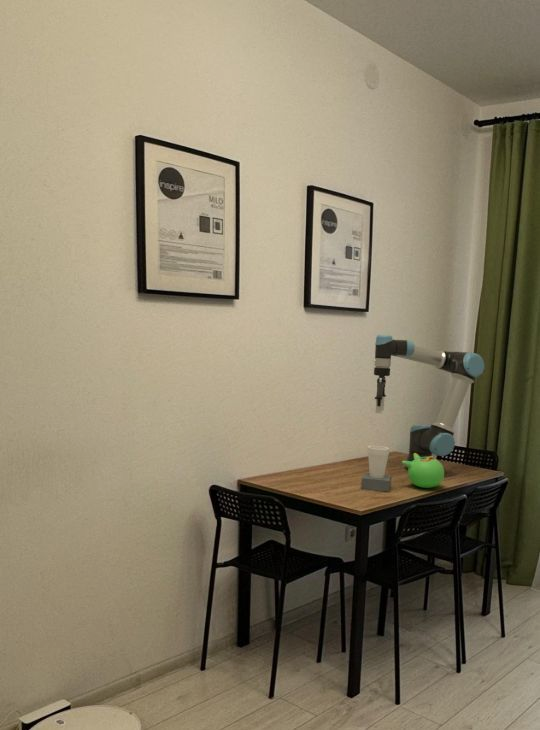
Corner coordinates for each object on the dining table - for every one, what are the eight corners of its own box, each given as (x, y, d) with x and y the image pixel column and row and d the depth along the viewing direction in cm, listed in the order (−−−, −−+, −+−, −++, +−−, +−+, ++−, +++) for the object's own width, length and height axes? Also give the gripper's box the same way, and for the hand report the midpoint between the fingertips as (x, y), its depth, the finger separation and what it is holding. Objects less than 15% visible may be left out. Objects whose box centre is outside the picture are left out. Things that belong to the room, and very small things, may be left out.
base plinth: (364, 483, 286) (364, 472, 286) (390, 486, 283) (391, 475, 283) (361, 489, 275) (361, 477, 274) (388, 492, 272) (389, 480, 271)
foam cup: (383, 474, 284) (385, 446, 283) (390, 479, 275) (392, 449, 274) (363, 474, 283) (365, 445, 282) (369, 478, 273) (371, 449, 273)
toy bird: (436, 494, 273) (438, 460, 272) (399, 487, 281) (401, 455, 281) (447, 486, 288) (449, 455, 287) (412, 480, 297) (414, 450, 296)
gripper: (376, 365, 310) (373, 408, 311) (371, 367, 286) (369, 413, 287) (391, 366, 308) (389, 409, 309) (388, 368, 284) (385, 415, 285)
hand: (379, 411), depth 298 cm, fingers open, 13 cm apart
